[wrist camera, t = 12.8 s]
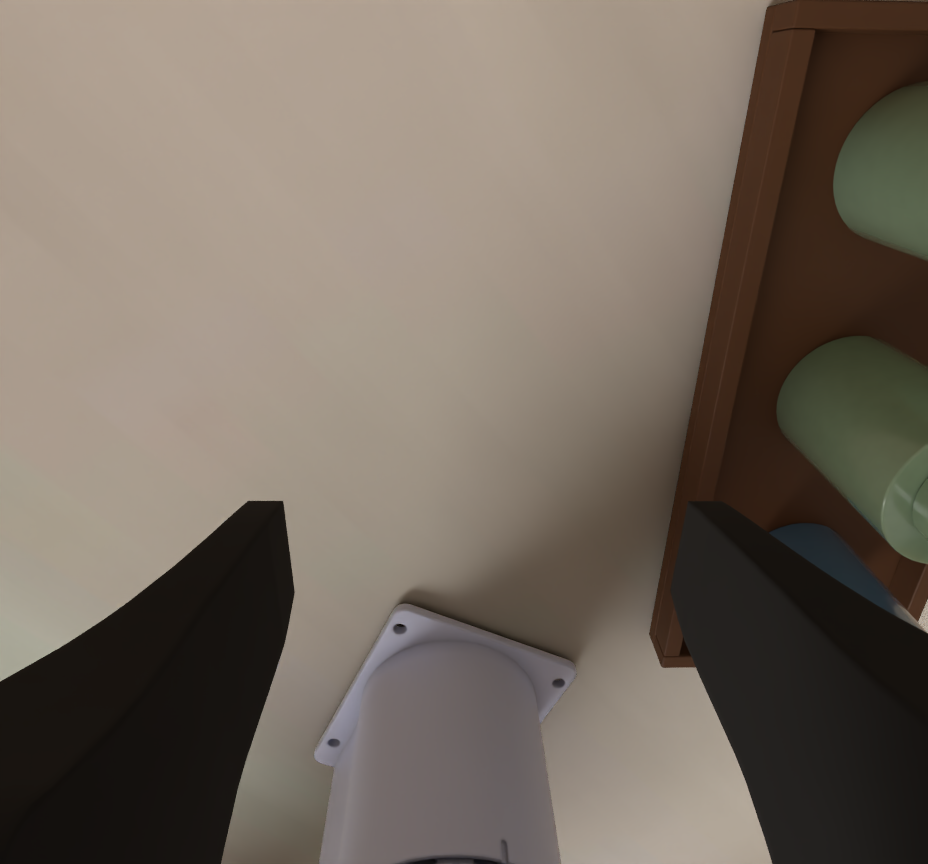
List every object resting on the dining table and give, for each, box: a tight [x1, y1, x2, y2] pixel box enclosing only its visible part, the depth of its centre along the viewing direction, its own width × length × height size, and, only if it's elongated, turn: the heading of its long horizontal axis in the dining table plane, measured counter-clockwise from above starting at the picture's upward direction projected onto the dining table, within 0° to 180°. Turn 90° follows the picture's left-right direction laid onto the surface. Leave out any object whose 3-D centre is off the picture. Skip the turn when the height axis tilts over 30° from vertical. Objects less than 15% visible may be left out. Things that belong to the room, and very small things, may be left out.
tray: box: [649, 0, 928, 668], centre depth 22 cm, size 21×9×2 cm, turn 179°
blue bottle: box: [769, 523, 927, 633], centre depth 21 cm, size 4×4×9 cm
